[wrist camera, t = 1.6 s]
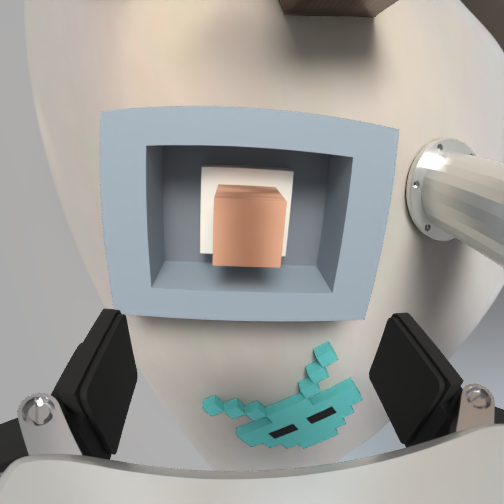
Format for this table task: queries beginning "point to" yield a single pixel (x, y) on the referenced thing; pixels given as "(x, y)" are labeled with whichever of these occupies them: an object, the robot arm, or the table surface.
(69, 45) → the table surface
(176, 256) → the slot box
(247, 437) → the alien figure
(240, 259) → the terracotta cube
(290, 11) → the brown manual coffee grinder
